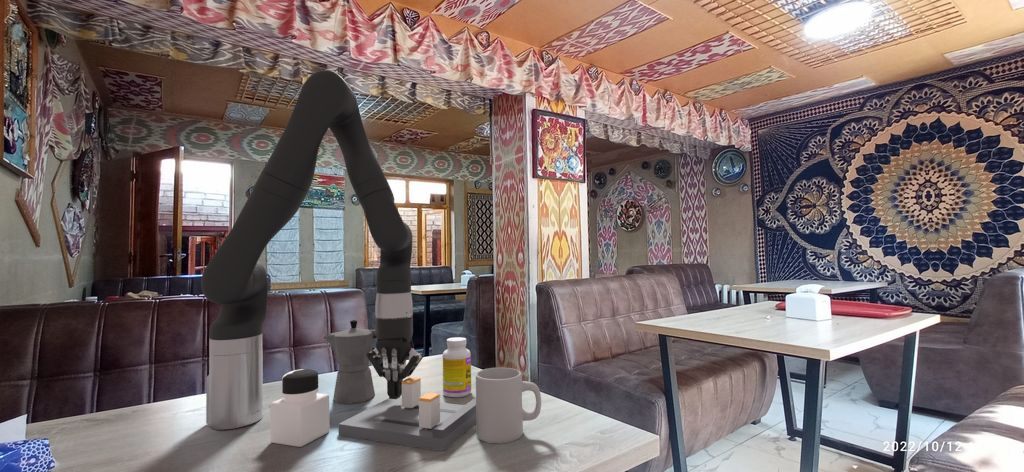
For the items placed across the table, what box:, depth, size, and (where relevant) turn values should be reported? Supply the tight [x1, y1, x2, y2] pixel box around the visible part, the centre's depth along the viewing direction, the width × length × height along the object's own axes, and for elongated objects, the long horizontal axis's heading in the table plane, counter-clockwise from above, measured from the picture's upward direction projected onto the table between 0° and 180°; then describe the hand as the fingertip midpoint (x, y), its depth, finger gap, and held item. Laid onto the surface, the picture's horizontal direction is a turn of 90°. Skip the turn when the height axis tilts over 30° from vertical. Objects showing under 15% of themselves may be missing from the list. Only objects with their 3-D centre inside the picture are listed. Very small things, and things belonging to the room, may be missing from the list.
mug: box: [475, 367, 542, 444], centre depth 81 cm, size 12×8×11 cm
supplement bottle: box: [442, 336, 472, 398], centre depth 105 cm, size 7×7×13 cm
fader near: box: [419, 392, 441, 429], centre depth 80 cm, size 2×3×5 cm
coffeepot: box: [323, 319, 378, 405], centre depth 104 cm, size 15×9×18 cm, turn 100°
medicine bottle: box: [269, 368, 330, 448], centre depth 82 cm, size 7×7×12 cm
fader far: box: [401, 376, 422, 408], centre depth 91 cm, size 2×3×5 cm
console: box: [337, 397, 476, 452], centre depth 86 cm, size 22×16×4 cm
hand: (395, 397), depth 92 cm, fingers closed
